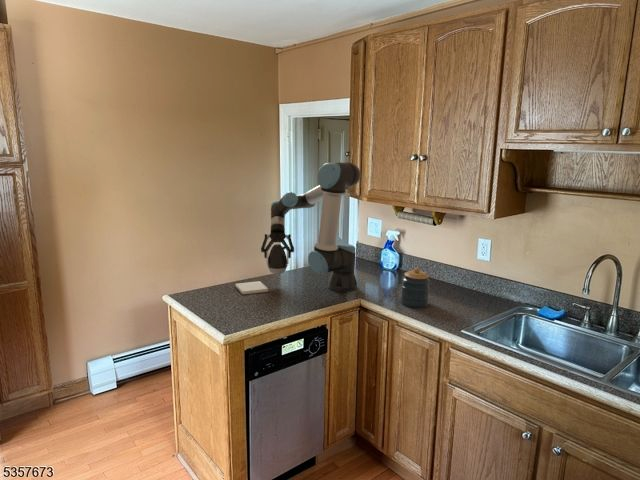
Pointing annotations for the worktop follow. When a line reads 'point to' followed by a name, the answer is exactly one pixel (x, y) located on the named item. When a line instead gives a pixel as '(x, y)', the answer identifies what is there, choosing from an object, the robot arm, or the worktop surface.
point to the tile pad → (251, 287)
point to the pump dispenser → (277, 259)
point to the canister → (415, 289)
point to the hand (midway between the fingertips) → (277, 263)
